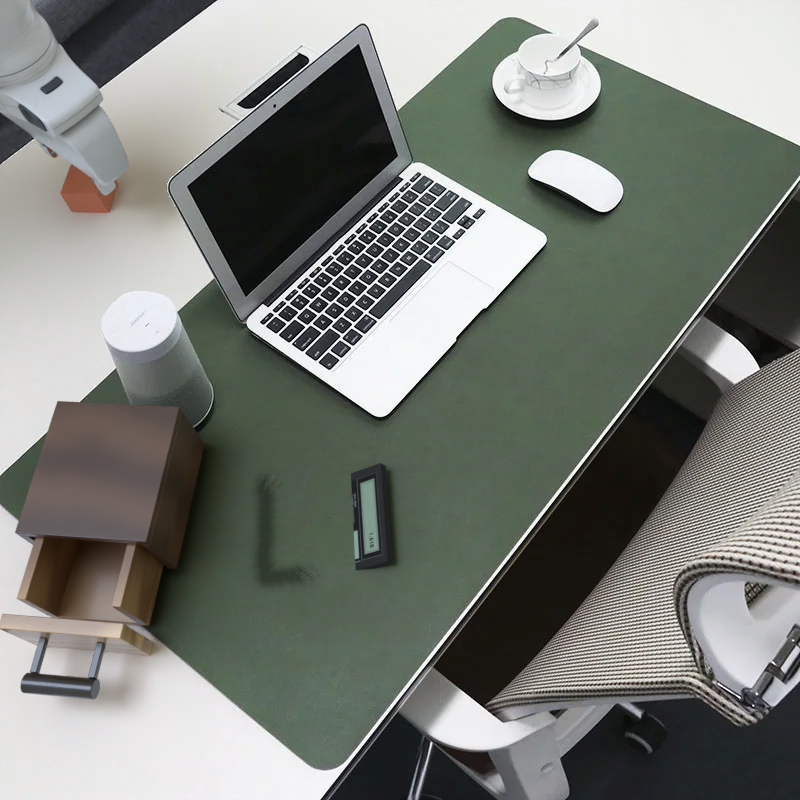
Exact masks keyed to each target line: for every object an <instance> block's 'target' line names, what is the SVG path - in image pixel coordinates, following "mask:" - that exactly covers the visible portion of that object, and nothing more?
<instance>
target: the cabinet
mask: <svg viewBox="0 0 800 800" xmlns="http://www.w3.org/2000/svg"><path fill="white" fill-rule="evenodd" d="M45 435H46V436H45V438H44V441H43V444H42V448H41V451H40V454H39V457H38V460H37V463H36V467H35V469H34V472H33V476H32V478H31V482H30V485H29V487H28V491H27V493H26V496H25V500H24V504H23V506H22V509H21V511H20V515H19V519H18V522H17V525H16V528H15V531H14V533H15V534H16V535H17V536H19V537H20V538H22V539H23V540H25V541H26V542H28V543H29V544H31V545H32V546H33V544H34V541H35V538H36V537H45V538H60V539H74V540H89V541H103V542H118V543H132V544H141V545H142V546H143V547H145V548H146V549H147V550H148V551H149V552H150V553H151V554H152V555H154V556H155V557H156V558H157V559H158V560H159V561H160V562H161V563H163V564H164V565H163V566H164V567H166V568H167V569H168V570H177V569H178V565H179V560H180V555H181V551H182V546H183V542H184V537H185V533H186V529H187V524H188V519H189V515H190V511H191V506H192V502H193V499H194V498H193V497H194V492H195V489H196V484H197V481H198V480H197V479H198V475H199V471H200V467H201V462H202V457H203V453H204V449H205V442H204V440H203V439H202V438H201V436H200V435H199V433H198V432H197V430H196V429H195V428H194V426H193V425H192V423H191V422H190V420H189V418H188V417H187V416H186V414H185V413H184V412H183V410H182V409H181V407H180V406H172V405H171V406H168V405H148V404H147V405H146V404H130V403H129V404H126V403H107V402H89V401H87V402H85V401H69V400H68V401H67V400H66V401H65V400H57V401H56V403H55V407H54V411H53V413H52V417H51V420H50V423H49V425H48V428H47V432H46V434H45Z"/></svg>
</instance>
